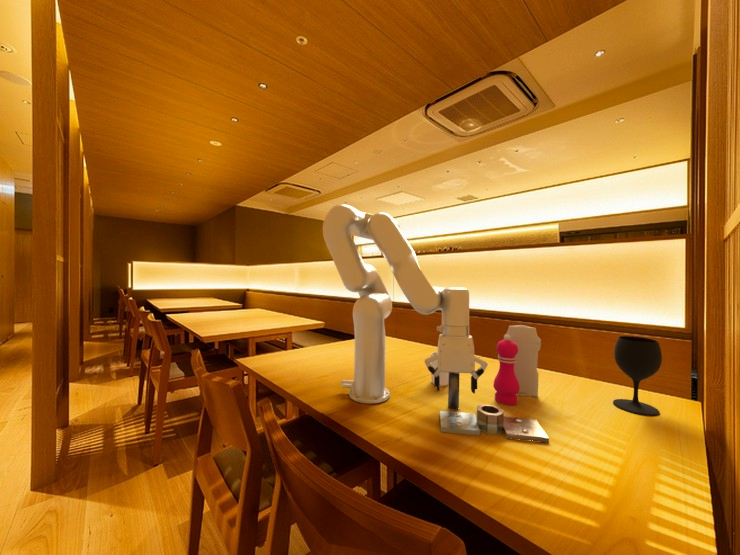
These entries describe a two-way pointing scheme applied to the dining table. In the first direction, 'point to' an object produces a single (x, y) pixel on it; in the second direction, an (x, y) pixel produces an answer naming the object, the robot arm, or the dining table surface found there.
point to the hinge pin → (453, 390)
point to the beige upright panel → (526, 358)
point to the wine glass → (637, 369)
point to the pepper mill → (506, 373)
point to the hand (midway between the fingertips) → (455, 390)
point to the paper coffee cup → (443, 375)
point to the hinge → (491, 424)
